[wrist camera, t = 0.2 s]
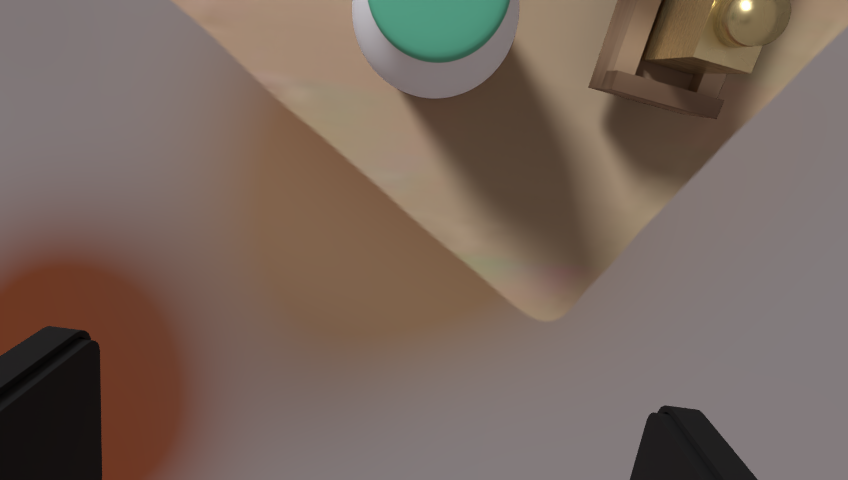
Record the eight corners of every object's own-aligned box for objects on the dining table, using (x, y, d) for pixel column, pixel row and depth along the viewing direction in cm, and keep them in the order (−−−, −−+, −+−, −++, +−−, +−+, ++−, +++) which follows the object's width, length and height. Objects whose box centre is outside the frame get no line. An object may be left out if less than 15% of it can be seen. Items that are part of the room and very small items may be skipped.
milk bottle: (516, 11, 36) (618, -60, 17) (450, 115, 38) (473, 158, 19) (414, -61, 35) (398, -226, 16) (350, 50, 37) (267, 23, 18)
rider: (667, -16, 30) (749, -46, 23) (716, -2, 31) (814, -27, 23) (641, 60, 31) (710, 55, 24) (688, 73, 32) (771, 73, 24)
